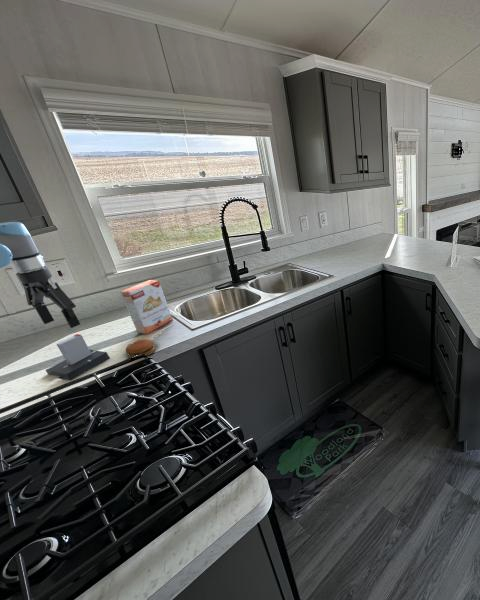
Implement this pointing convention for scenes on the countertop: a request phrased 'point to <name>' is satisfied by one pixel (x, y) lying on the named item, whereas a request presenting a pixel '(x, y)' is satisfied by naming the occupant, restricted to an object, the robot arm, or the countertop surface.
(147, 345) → the burger
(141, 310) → the cracker box
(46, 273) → the robot arm
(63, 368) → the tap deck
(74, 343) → the tap handle
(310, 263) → the countertop surface
